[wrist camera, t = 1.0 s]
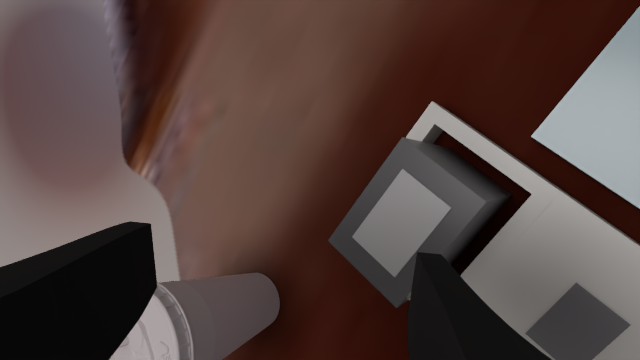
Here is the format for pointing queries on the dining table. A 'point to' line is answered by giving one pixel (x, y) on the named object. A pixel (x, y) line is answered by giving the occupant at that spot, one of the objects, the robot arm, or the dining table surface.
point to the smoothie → (201, 318)
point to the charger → (415, 215)
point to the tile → (603, 117)
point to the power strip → (551, 262)
